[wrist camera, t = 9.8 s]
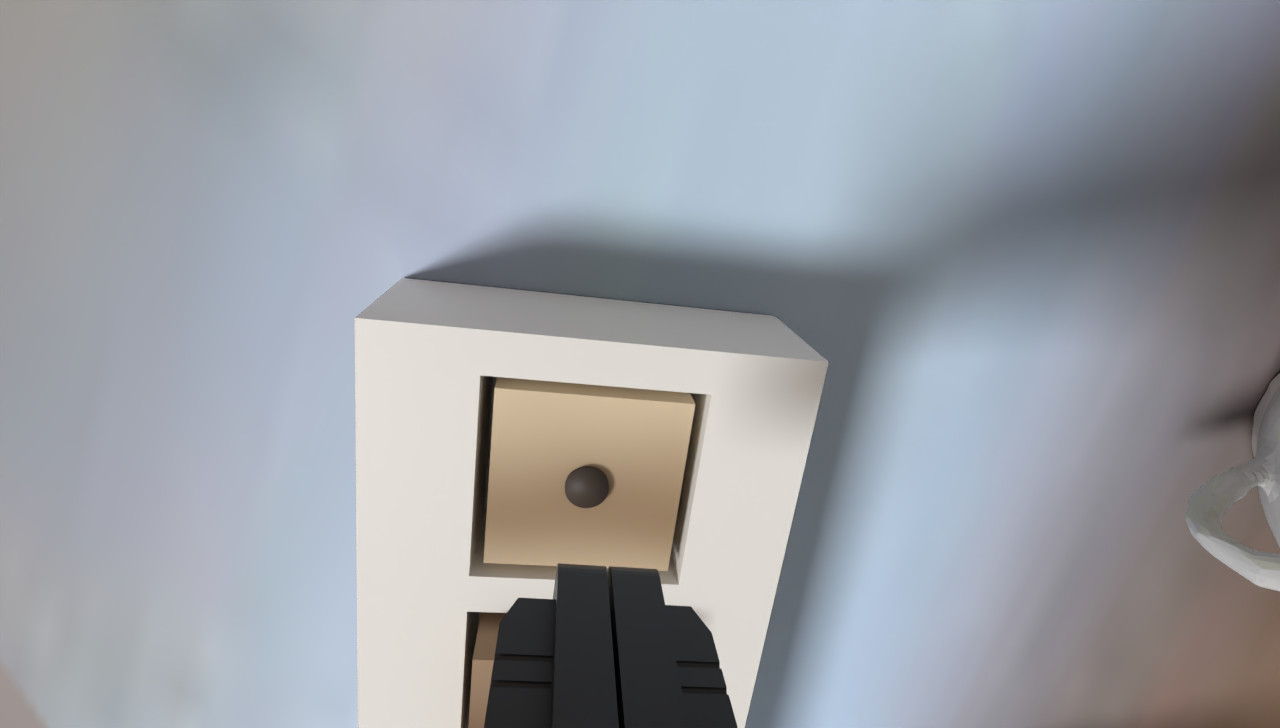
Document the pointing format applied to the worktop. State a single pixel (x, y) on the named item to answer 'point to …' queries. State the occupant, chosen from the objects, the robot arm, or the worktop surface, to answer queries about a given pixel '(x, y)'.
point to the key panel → (460, 459)
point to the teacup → (1276, 476)
